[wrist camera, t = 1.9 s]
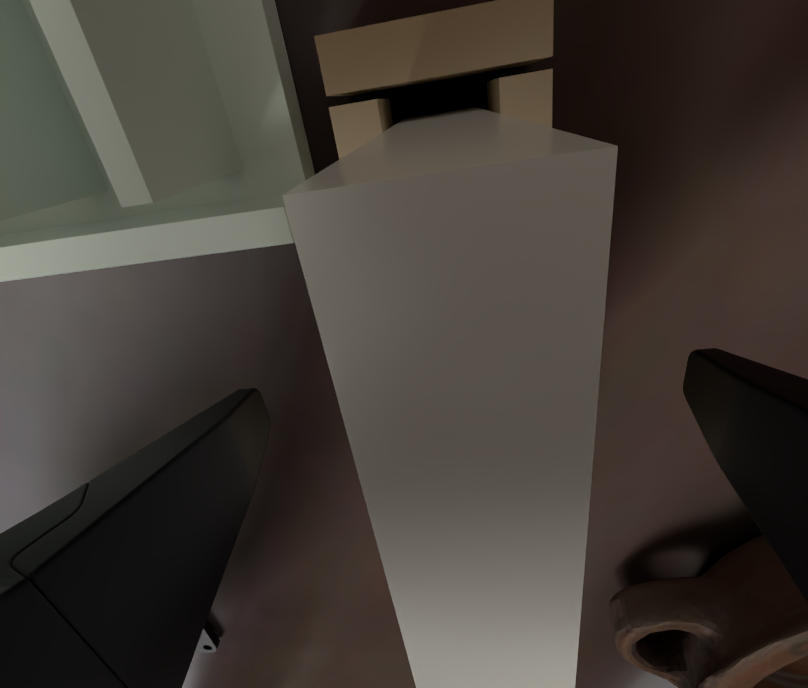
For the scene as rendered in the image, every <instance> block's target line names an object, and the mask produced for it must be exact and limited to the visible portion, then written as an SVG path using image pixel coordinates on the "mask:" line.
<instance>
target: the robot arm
mask: <svg viewBox="0 0 808 688" xmlns="http://www.w3.org/2000/svg"><path fill="white" fill-rule="evenodd" d="M683 391H684V395H685V398H686V400H687V402H688V404H689V406H690V408H691V410H692V412H693V415H694V417H695V419H696V421H697V423H698V425H699V427H700V429H701V431H702V433H703V435H704V437H705V439H706V441H707V443H708V445H709V447H710V449H711V451H712V453H713V455H714V457H715V459H716V461H717V463H718V464H719V466H720V467H721V469H722V471H723V472H724V474H725V476H726V477H727V479H728V480H729V482H730V483H731V485H732V486H733V488H734V490H735V491H736V493H737V494H738V496H739V497H740V499H741V500H742V502H743V504H744V505H745V507H746V508H747V510H748V511H749V513H750V515H751V516H752V518H753V519H754V521H755V522H756V524H757V525H758V527H759V529H760V530H761V532H762V533H763V535H764V536H765V538H766V539H767V541H768V543H769V544H770V546H771V547H772V549H773V550H774V552H775V554H776V555H777V557H778V558H779V560H780V561H781V563H782V564H783V566H784V568H785V569H786V571H787V572H788V574H789V575H790V577H791V578H792V580H793V582H794V583H795V585H796V586H797V588H798V589H799V591H800V593H801V594H802V596H803V597H804V599H805V600H806V602H807V603H808V380H807V379H805V378H802V377H799V376H796V375H793V374H790V373H787V372H784V371H781V370H778V369H775V368H772V367H769V366H767V365H764V364H761V363H758V362H755V361H752V360H749V359H746V358H743V357H740V356H737V355H734V354H731V353H728V352H726V351H723V350H720V349H716V348H710V349H699V350H694V351H692V352H691V353H690V355H689V358H688V362H687V367H686V373H685V378H684V383H683ZM269 429H270V417H269V414H268V412H267V409H266V406H265V404H264V401H263V398H262V395H261V393H260V392H259V390H257V389H256V388H249V389H240V390H237V391H235V392H234V393H232V394H231V395H229V396H227V397H226V398H224V399H222V400H221V401H219V402H218V403H216V404H214V405H213V406H211V407H209V408H208V409H206V410H205V411H203V412H201V413H200V414H198V415H196V416H195V417H193V418H192V419H190V420H188V421H187V422H185V423H183V424H182V425H180V426H178V427H177V428H175V429H174V430H172V431H170V432H169V433H167V434H165V435H164V436H162V437H161V438H159V439H157V440H156V441H154V442H152V443H151V444H149V445H148V446H146V447H144V448H143V449H141V450H139V451H138V452H136V453H135V454H133V455H131V456H130V457H128V458H126V459H125V460H123V461H122V462H120V463H118V464H117V465H115V466H113V467H112V468H110V469H109V470H107V471H105V472H104V473H102V474H100V475H99V476H97V477H96V478H94V479H92V480H91V481H90V483H86V484H84V485H82V486H81V487H79V488H77V489H76V490H74V491H73V492H71V493H69V494H68V495H66V496H64V497H63V498H61V499H59V500H58V501H56V502H54V503H53V504H51V505H49V506H48V507H46V508H44V509H43V510H41V511H39V512H38V513H36V514H34V515H32V516H31V517H29V518H27V519H25V520H24V521H22V522H20V523H18V524H17V525H15V526H13V527H11V528H10V529H8V530H6V531H4V532H3V533H1V534H0V688H182V685H183V683H184V680H185V677H186V675H187V672H188V669H189V666H190V664H191V661H192V658H193V655H194V653H211V652H215V651H216V650H217V648H218V645H219V643H220V640H219V638H218V637H217V635H216V634H215V632H214V631H213V629H212V628H211V626H210V624H209V623H208V621H207V617H208V615H209V612H210V609H211V606H212V604H213V601H214V598H215V596H216V593H217V590H218V587H219V585H220V582H221V579H222V576H223V574H224V571H225V568H226V566H227V563H228V560H229V557H230V555H231V552H232V549H233V546H234V544H235V541H236V538H237V536H238V533H239V530H240V527H241V525H242V522H243V519H244V516H245V514H246V511H247V508H248V506H249V503H250V500H251V497H252V494H253V492H254V489H255V485H256V482H257V478H258V474H259V470H260V466H261V462H262V458H263V454H264V450H265V446H266V442H267V438H268V434H269Z"/></svg>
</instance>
